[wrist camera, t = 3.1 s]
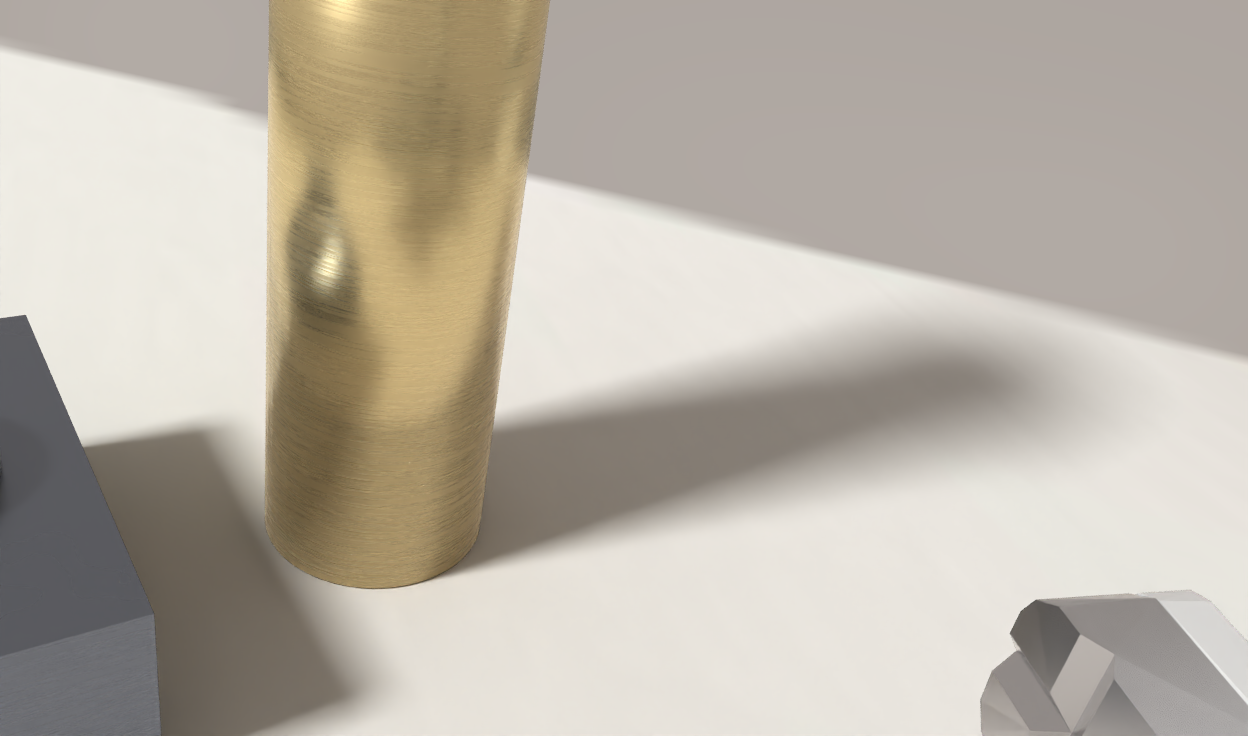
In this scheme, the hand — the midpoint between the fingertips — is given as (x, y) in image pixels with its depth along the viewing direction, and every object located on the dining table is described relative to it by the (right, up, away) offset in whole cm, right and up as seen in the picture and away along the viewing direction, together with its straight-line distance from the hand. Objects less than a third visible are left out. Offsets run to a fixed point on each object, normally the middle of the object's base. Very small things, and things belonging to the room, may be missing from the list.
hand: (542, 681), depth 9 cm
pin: (-4, 0, +13) cm, 14 cm away
